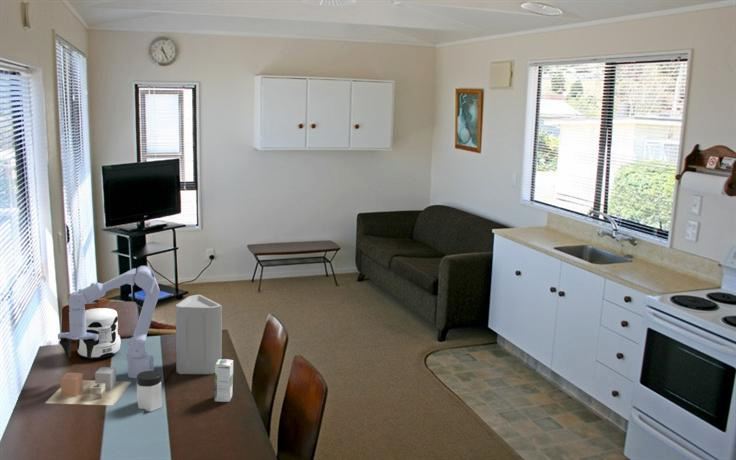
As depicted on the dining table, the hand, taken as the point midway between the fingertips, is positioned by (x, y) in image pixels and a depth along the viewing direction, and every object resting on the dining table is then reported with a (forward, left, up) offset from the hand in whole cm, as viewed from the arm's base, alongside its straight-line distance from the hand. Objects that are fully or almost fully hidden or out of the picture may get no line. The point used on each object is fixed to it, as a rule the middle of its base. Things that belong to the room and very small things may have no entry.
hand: (79, 357), depth 252 cm
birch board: (-8, +11, -10) cm, 17 cm away
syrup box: (-57, +11, -10) cm, 59 cm away
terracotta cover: (-2, +12, -9) cm, 15 cm away
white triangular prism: (-40, -16, -10) cm, 44 cm away
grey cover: (-12, +6, -9) cm, 16 cm away
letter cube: (-12, +14, -9) cm, 20 cm away
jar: (-32, +19, -10) cm, 39 cm away
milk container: (+3, -28, -10) cm, 30 cm away
